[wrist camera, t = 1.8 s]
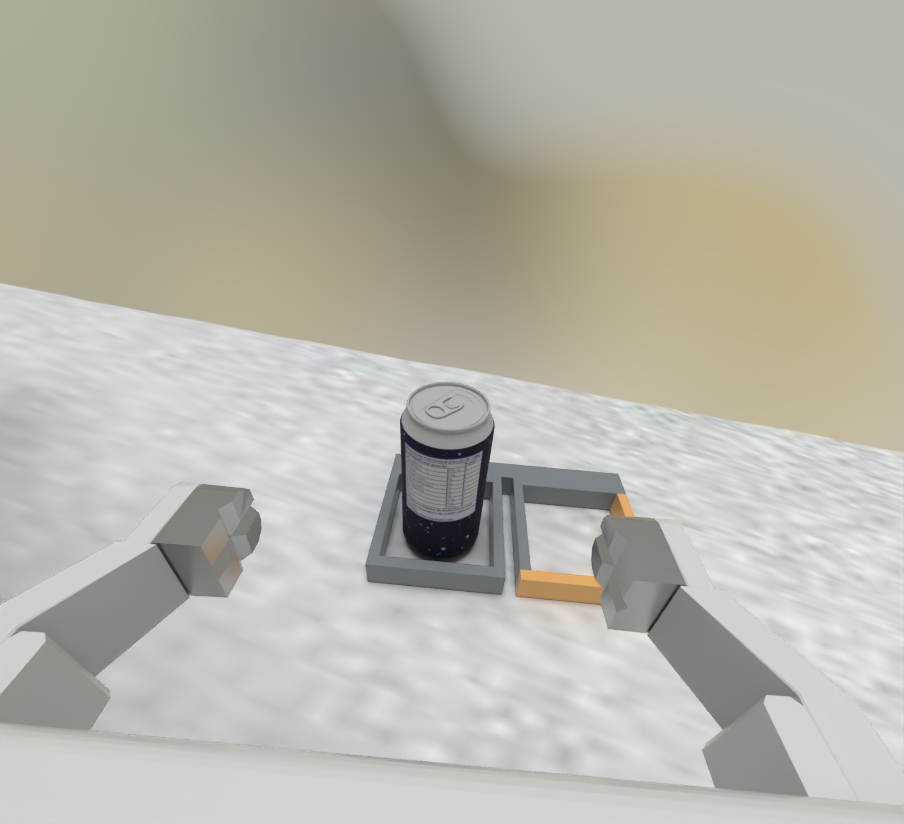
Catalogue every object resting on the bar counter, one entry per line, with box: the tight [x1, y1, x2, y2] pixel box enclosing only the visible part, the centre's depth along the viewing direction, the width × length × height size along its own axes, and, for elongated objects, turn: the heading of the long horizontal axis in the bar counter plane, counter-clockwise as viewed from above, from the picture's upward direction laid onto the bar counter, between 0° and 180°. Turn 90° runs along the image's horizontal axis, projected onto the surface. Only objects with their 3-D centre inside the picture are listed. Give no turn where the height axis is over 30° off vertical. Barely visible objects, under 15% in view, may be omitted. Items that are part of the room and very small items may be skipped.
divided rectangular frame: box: [366, 454, 634, 604], centre depth 30 cm, size 19×11×2 cm, turn 86°
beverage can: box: [400, 382, 494, 558], centre depth 27 cm, size 6×6×12 cm
